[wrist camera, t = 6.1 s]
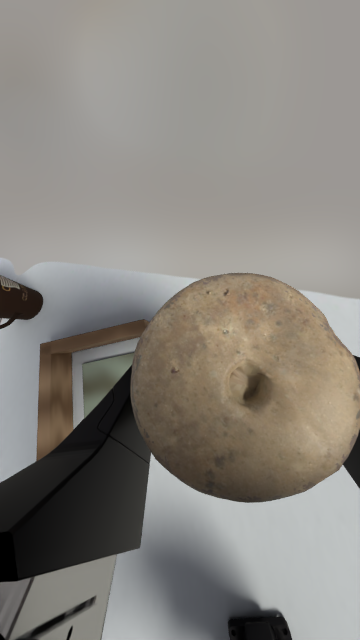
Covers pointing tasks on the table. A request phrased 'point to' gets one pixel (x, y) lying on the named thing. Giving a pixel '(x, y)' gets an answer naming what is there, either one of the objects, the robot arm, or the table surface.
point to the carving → (245, 389)
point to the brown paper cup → (18, 301)
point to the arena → (58, 379)
